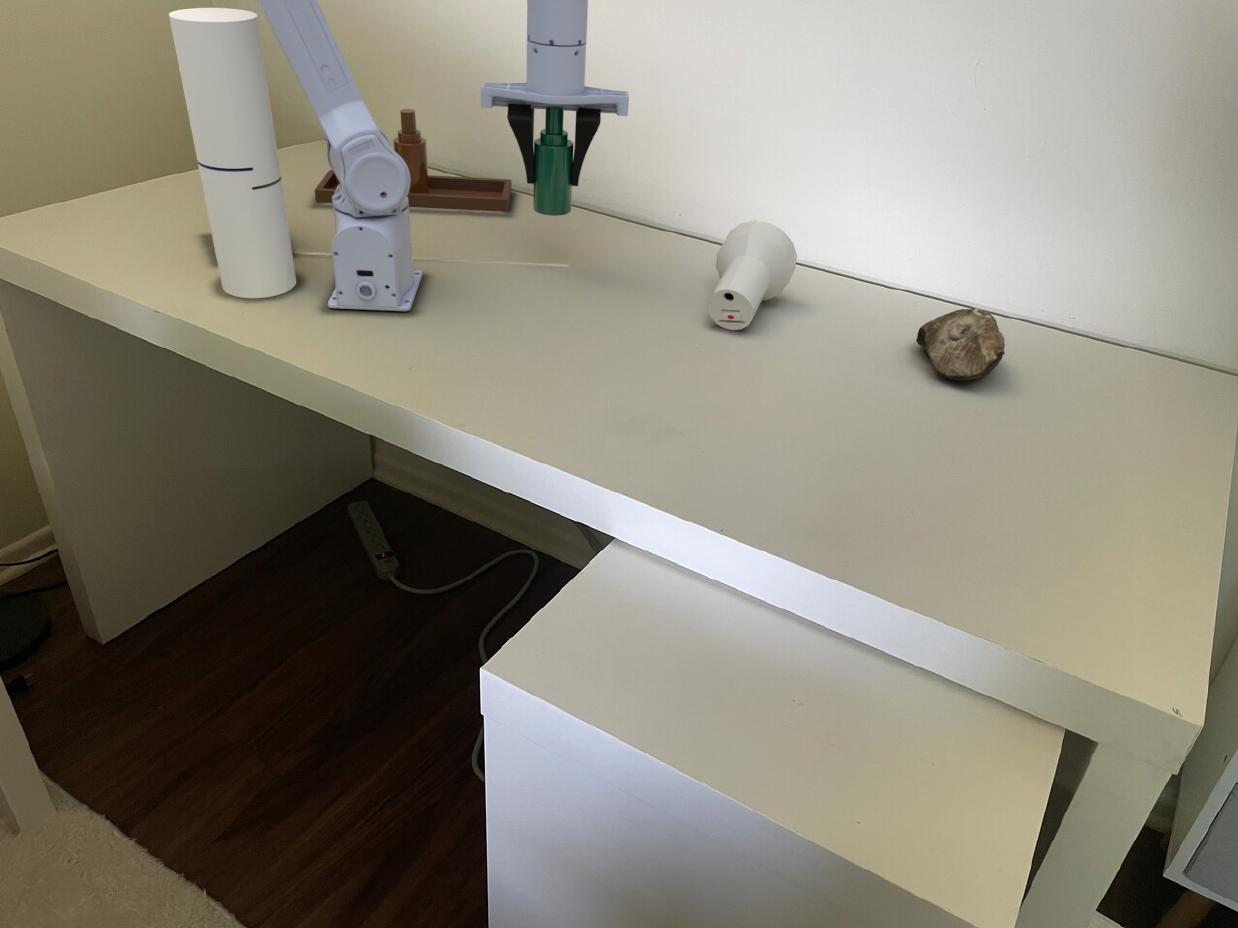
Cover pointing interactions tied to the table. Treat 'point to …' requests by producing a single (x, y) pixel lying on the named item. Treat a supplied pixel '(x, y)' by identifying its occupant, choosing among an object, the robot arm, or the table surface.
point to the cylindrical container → (235, 148)
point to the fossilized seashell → (963, 344)
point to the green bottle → (553, 166)
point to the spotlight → (750, 272)
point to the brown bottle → (413, 151)
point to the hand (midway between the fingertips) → (553, 182)
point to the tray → (444, 193)
